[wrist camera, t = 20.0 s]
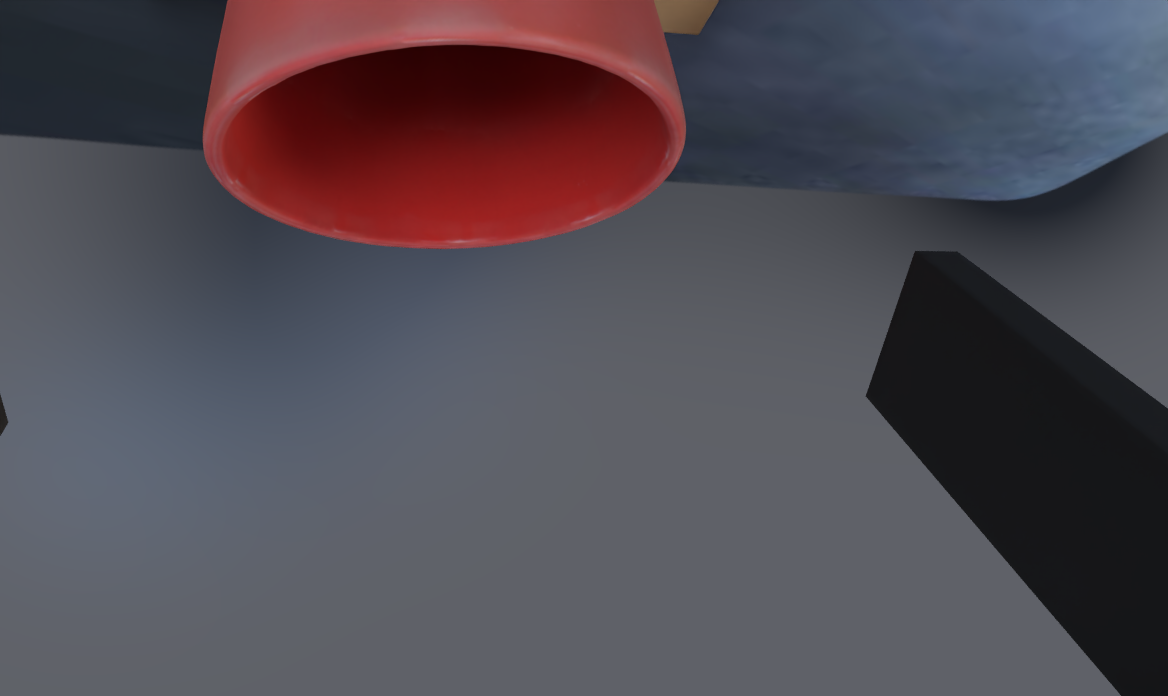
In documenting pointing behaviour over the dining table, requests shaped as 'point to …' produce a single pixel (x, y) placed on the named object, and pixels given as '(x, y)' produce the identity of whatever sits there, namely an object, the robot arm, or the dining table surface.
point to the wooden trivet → (684, 15)
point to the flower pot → (442, 116)
